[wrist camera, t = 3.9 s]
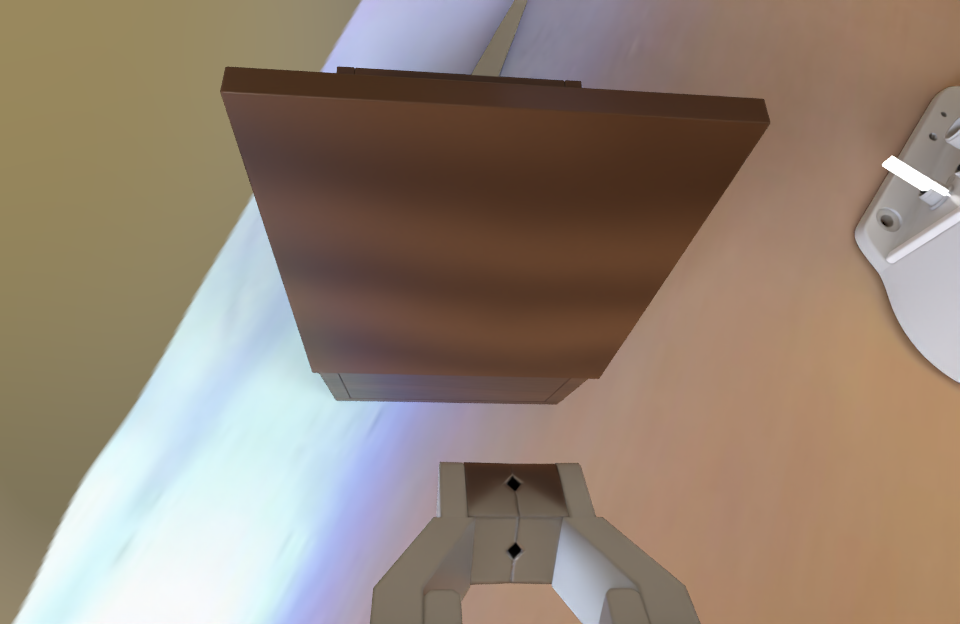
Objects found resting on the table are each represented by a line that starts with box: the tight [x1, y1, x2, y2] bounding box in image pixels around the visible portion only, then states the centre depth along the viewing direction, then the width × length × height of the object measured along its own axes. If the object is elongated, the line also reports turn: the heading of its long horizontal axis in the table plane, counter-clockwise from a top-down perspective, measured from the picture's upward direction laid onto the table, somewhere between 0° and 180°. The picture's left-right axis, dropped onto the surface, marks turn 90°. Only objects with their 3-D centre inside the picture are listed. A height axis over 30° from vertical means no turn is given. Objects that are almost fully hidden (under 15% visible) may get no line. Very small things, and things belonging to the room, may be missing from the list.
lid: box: [220, 67, 770, 379], centre depth 23 cm, size 17×13×1 cm
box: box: [319, 67, 587, 404], centre depth 38 cm, size 16×13×9 cm
